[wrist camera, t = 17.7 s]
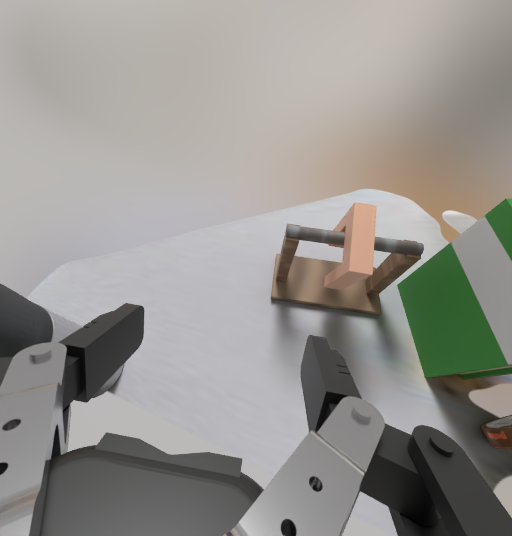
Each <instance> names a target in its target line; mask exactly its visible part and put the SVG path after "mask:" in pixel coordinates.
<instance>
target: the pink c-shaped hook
mask: <svg viewBox="0 0 512 536" xmlns="http://www.w3.org/2000/svg"><path fill="white" fill-rule="evenodd" d="M375 223H376V206H374V205H367V204H361V203H354V204H353V206H352V207H351V208H350V210H349V211H348V212H347V213H346V215H345V216H344V217H343V219H342V220H341V221H340V223H339V224H338V225H337V227H336V228H335V229H334V230H333V231H337V232H344V233H345V240H344V246H340V245H333V244H329V246H335V247H341V248H344V251H343V262H342V263H341V264H340V265H339V266H337V267H336V268H335V269H334V270H332V271H331V272H330V273H329V274H327V275H326V276H325V282H324V287H326V288H331V289H337V290H342V289H344V288H346V287H348V286H350V285H352V284H354V283H357V282H359V281H361V280H363V279H365V278H367V277H369V276H371V275H372V274H373V257H374V240H375Z"/></svg>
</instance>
